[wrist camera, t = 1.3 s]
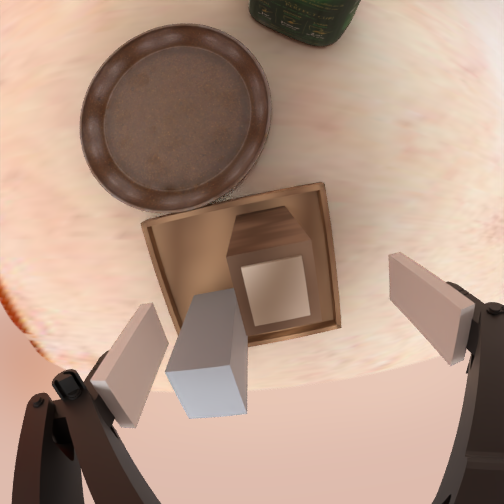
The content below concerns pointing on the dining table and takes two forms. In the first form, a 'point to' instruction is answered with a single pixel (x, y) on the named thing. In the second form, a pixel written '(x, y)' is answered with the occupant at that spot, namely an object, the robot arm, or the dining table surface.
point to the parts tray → (216, 246)
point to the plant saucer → (175, 118)
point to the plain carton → (211, 357)
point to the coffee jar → (306, 18)
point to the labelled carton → (273, 271)
